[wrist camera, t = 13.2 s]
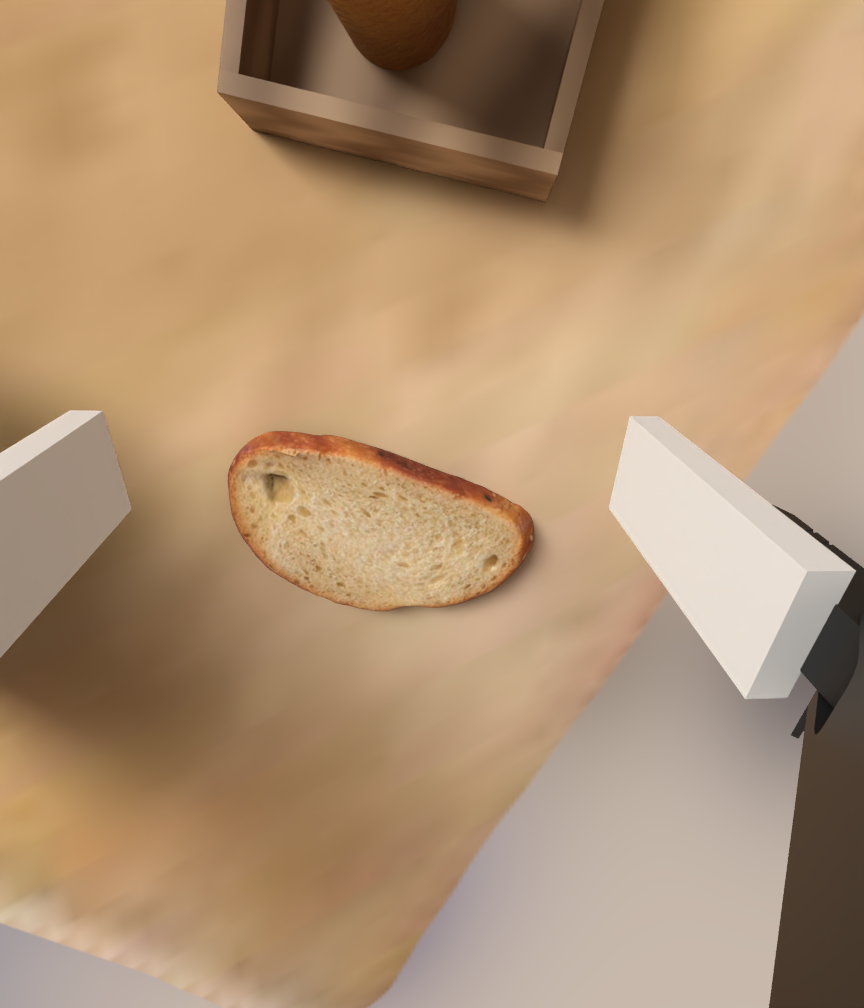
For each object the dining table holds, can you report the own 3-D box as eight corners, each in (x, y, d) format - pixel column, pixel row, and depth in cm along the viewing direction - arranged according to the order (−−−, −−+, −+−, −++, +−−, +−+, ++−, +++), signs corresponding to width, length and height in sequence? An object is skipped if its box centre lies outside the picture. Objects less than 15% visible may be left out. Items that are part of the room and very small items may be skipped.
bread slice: (552, 549, 37) (561, 570, 33) (350, 664, 40) (338, 693, 37) (412, 328, 34) (405, 324, 30) (206, 474, 37) (178, 486, 34)
